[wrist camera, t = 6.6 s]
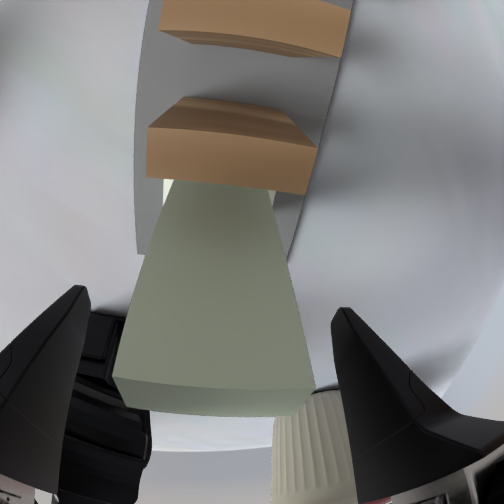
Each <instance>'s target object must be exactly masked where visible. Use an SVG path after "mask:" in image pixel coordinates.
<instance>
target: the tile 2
mask: <svg viewBox="0 0 504 504" xmlns="http://www.w3.org/2000/svg"><path fill="white" fill-rule="evenodd" d="M317 151H318V148H317V147H316V145H315V144H314V143H313V142H312V141H311V140H310V139H309V138H308V137H307V136H306V135H305V134H304V133H303V131H302V130H301V129H300V128H299V127H298V126H297V125H296V124H295V123H294V122H293V121H292V120H291V119H290V118H289V117H288V116H287V115H286V114H285V113H284V112H283V111H282V110H281V109H277V108H271V107H265V106H259V105H253V104H246V103H239V102H231V101H222V100H213V99H203V98H190V97H183V98H181V99H180V100H179V101H178V102H176V103H175V104H174V105H173V106H172V107H170V108H169V109H168V110H167V111H166V112H164V113H163V114H162V115H161V116H160V117H159V118H157V119H156V120H155V121H154V122H153V123H152V124H151V125H150V126H148V127H147V148H146V178H159V179H172V180H184V181H195V182H205V183H215V184H224V185H233V186H242V187H250V188H258V189H266V190H273V191H280V192H287V193H294V194H301V195H306V191H307V188H308V184H309V181H310V177H311V173H312V170H313V166H314V163H315V159H316V155H317Z"/></svg>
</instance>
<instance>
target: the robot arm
mask: <svg viewBox="0 0 504 504" xmlns="http://www.w3.org/2000/svg"><path fill="white" fill-rule="evenodd" d="M90 309H91V302H90V298H89V295H88V291H87V288H86V287H85V286H82V285H74V286H73V287H72V288H70V289H69V290H68V291H67V292H66V293H64V294H63V295H62V296H61V297H60V298H59V299H57V300H56V301H55V302H54V303H53V304H52V305H51V306H49V307H48V308H47V309H46V310H45V311H44V312H43V313H42V314H41V315H39V316H38V317H37V318H36V319H35V320H34V321H33V322H32V323H31V324H30V325H28V326H27V327H26V328H25V329H24V330H23V331H22V332H21V333H20V334H19V335H18V336H17V337H16V338H15V339H14V340H13V341H12V342H11V343H10V344H8V345H7V346H6V347H5V348H4V349H3V350H2V351H1V352H0V504H38V503H37V501H36V500H35V498H34V496H35V488H37V489H40V490H43V491H46V492H49V493H52V503H51V504H134V503H135V502H136V501H137V498H138V490H139V483H140V478H141V474H142V471H143V469H144V468H145V467H146V466H147V464H148V462H149V459H150V456H151V450H152V437H151V425H150V411H149V410H143V409H137V408H131V407H126V405H125V403H124V401H123V398H122V396H121V394H120V392H119V390H118V388H117V386H116V384H115V381H114V379H113V377H112V375H113V370H114V365H115V361H116V357H117V353H118V348H119V344H120V340H121V336H122V332H123V329H124V325H125V321H126V318H123V317H116V316H109V315H102V314H96V313H90ZM331 335H332V345H333V355H334V363H335V369H336V374H337V379H338V384H339V389H340V394H341V399H342V404H343V410H344V415H345V421H346V426H347V432H348V438H349V444H350V450H351V457H352V464H353V471H354V478H355V485H356V493H357V501H358V504H364V503H368V502H372V501H376V500H380V499H384V498H387V497H391V499H392V503H390V504H504V421H495V420H489V419H483V418H476V417H471V416H466V415H463V414H460V413H458V412H456V411H455V410H453V409H452V408H451V407H450V406H449V405H447V404H446V403H445V402H444V401H443V400H442V399H441V398H440V397H439V396H437V395H436V394H435V393H434V392H433V391H432V390H431V389H430V388H429V387H428V386H426V385H425V384H424V383H423V382H422V381H421V380H420V379H419V378H418V377H417V376H416V374H415V373H414V372H413V371H412V370H410V368H409V367H408V366H407V365H406V364H405V363H404V362H403V361H402V360H401V359H400V358H399V357H398V356H397V355H396V354H395V353H394V352H393V350H392V349H391V348H390V347H389V346H388V345H387V344H386V343H385V342H384V341H383V340H382V339H381V338H380V337H379V336H378V335H377V334H376V333H375V332H374V331H373V330H372V329H371V328H370V327H369V326H368V325H367V324H366V323H365V322H364V321H363V320H362V319H361V318H360V317H359V316H358V315H357V314H356V313H355V312H354V311H353V310H352V309H351V308H349V307H340V308H339V309H338V310H337V312H336V314H335V316H334V317H333V319H332V321H331Z"/></svg>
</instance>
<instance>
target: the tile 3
mask: <svg viewBox="0 0 504 504" xmlns="http://www.w3.org/2000/svg"><path fill="white" fill-rule="evenodd" d="M112 377H113V379H114V381H115V384H116V386H117V388H118V390H119V392H120V394H121V396H122V398H123V401H124V403H125V405H126V407H131V408H137V409H143V410H151V411H158V412H167V413H176V414H187V415H200V416H219V417H279V416H294V414H295V413H296V412H297V411H298V410H299V408H300V407H301V406H302V405H303V404H304V402H305V401H306V400H307V399H308V397H309V396H310V395H311V394H312V392H313V391H314V390H315V389H316V385H315V381H314V376H313V372H312V367H311V362H310V358H309V354H308V349H307V345H306V340H305V336H304V332H303V327H302V323H301V319H300V315H299V310H298V306H297V302H296V298H295V294H294V290H293V286H292V281H291V277H290V273H289V269H288V265H287V261H286V258H285V254H284V250H283V246H282V242H281V238H280V234H279V230H278V227H277V223H276V219H275V215H274V211H273V208H272V204H271V200H270V197H269V193H268V190H266V189H258V188H250V187H242V186H233V185H224V184H215V183H205V182H195V181H184V180H173V183H172V185H171V188H170V190H169V193H168V195H167V198H166V200H165V203H164V205H163V208H162V211H161V213H160V216H159V219H158V221H157V224H156V227H155V229H154V232H153V235H152V238H151V241H150V244H149V246H148V249H147V252H146V255H145V258H144V261H143V264H142V267H141V270H140V274H139V277H138V280H137V283H136V286H135V290H134V293H133V296H132V300H131V303H130V307H129V310H128V314H127V317H126V321H125V325H124V329H123V332H122V336H121V340H120V344H119V348H118V353H117V357H116V361H115V365H114V370H113V375H112Z"/></svg>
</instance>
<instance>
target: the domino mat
mask: <svg viewBox="0 0 504 504" xmlns="http://www.w3.org/2000/svg"><path fill="white" fill-rule="evenodd" d="M320 1H323V2H327V3H330V4H333V5H336V6H339V7H342V8H345V9H348V10H351V9H352V4H353V0H320ZM162 5H163V0H149V5H148V10H147V16H146V21H145V27H144V34H143V40H142V48H141V55H140V64H139V73H138V83H137V95H136V110H135V130H134V205H135V226H136V241H137V254H142V255H146V252H147V249H148V246H149V244H150V241H151V238H152V235H153V232H154V229H155V227H156V224H157V221H158V219H159V216H160V213H161V211H162V208H163V205H164V203H165V200H166V198H167V195H168V193H169V190H170V188H171V185H172V183H173V180H172V179H159V178H146V148H147V127H148V126H150V125H151V124H152V123H153V122H154V121H155V120H156V119H157V118H159V117H160V116H161V115H162V114H163V113H164V112H166V111H167V110H168V109H169V108H170V107H172V106H173V105H174V104H175V103H176V102H178V101H179V100H180V99H181V98H183V97H190V98H203V99H213V100H222V101H231V102H239V103H246V104H253V105H259V106H265V107H271V108H277V109H281V110H282V111H283V112H284V113H285V114H286V115H287V116H288V117H289V118H290V119H291V120H292V121H293V122H294V123H295V124H296V125H297V126H298V127H299V128H300V129H301V130H302V131H303V133H304V134H305V135H306V136H307V137H308V138H309V139H310V140H311V141H312V142H313V143H314V144H315V145H316V147H317V148H318V147H319V144H320V140H321V136H322V132H323V128H324V124H325V121H326V117H327V113H328V109H329V105H330V101H331V97H332V93H333V89H334V84H335V80H336V76H337V72H338V68H339V63H340V59H341V58H332V57H295V58H291V57H287V56H282V55H277V54H272V53H266V52H260V51H254V50H248V49H241V48H233V47H224V46H214V45H202V44H190V43H188V42H186V41H183V40H181V39H179V38H176V37H174V36H171V35H169V34H166V33H164V32H161V31H159V30H158V27H159V21H160V15H161V10H162ZM268 193H269V197H270V200H271V204H272V208H273V211H274V215H275V219H276V223H277V227H278V230H279V234H280V238H281V242H282V246H283V250H284V254H285V258H286V259H287V256H288V252H289V249H290V246H291V242H292V239H293V236H294V232H295V229H296V226H297V222H298V219H299V215H300V212H301V208H302V205H303V201H304V198H305V195H301V194H294V193H287V192H280V191H273V190H268Z"/></svg>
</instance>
